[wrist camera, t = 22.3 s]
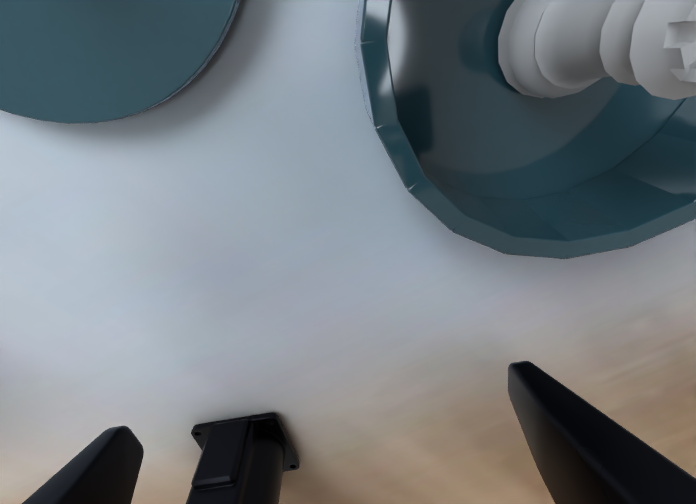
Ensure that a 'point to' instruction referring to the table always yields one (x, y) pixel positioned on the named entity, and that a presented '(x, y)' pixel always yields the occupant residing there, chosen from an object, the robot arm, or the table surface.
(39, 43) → the lid
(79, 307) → the table surface
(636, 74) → the rook chess piece
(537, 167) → the pot
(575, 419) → the robot arm
